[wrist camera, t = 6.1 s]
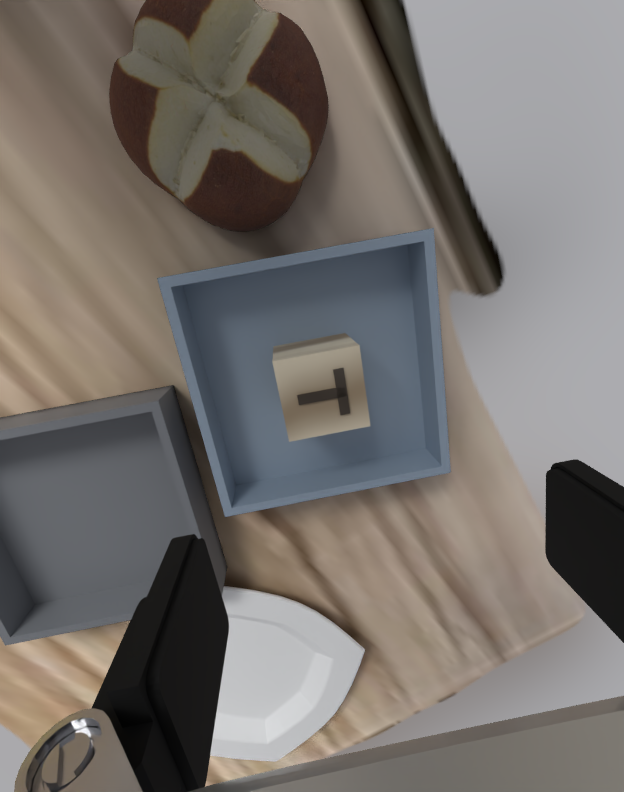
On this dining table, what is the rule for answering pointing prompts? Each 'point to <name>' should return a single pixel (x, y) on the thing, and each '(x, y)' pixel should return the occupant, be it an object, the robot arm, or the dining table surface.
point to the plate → (278, 675)
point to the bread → (221, 107)
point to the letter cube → (321, 386)
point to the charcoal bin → (94, 510)
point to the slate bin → (303, 320)
